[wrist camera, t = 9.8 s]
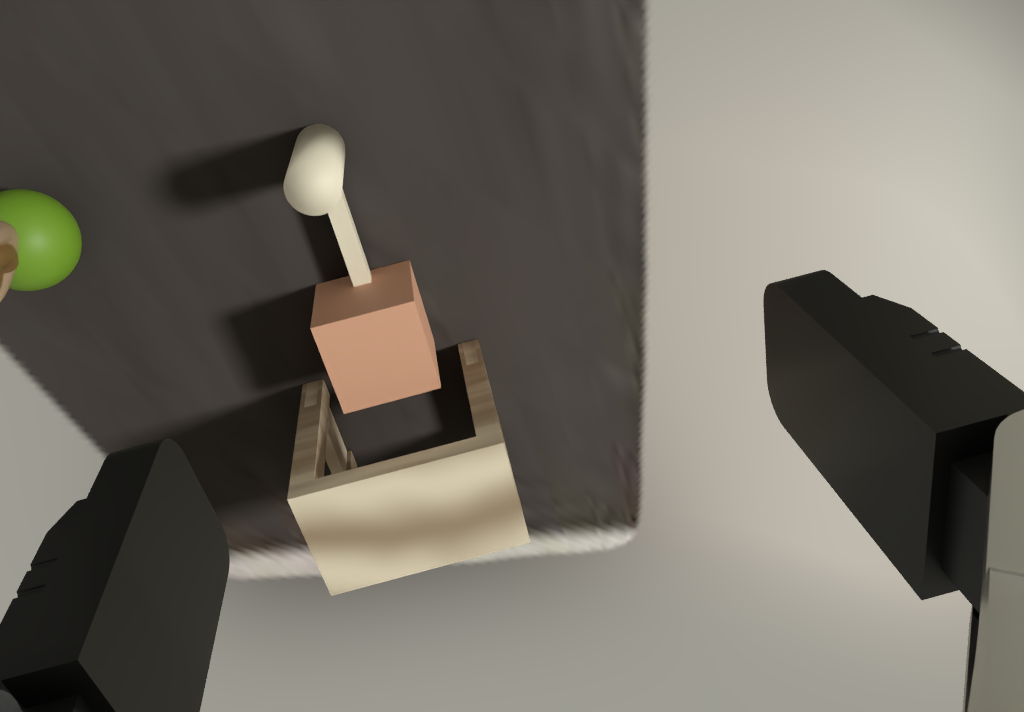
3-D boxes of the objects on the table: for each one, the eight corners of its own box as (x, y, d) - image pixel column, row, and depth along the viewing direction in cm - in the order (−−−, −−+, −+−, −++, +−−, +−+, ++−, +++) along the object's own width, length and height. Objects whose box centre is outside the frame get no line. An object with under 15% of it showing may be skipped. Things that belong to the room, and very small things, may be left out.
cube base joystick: (260, 137, 45) (242, 177, 39) (363, 111, 45) (363, 145, 39) (346, 364, 53) (343, 428, 47) (434, 340, 53) (443, 401, 47)
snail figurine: (107, 181, 45) (30, 264, 35) (83, 279, 48) (4, 383, 37) (0, 144, 43) (-114, 220, 33) (-19, 248, 46) (-131, 348, 36)
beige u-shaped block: (302, 384, 53) (287, 499, 43) (477, 338, 54) (504, 442, 43) (338, 470, 57) (331, 595, 47) (501, 427, 57) (530, 542, 47)
